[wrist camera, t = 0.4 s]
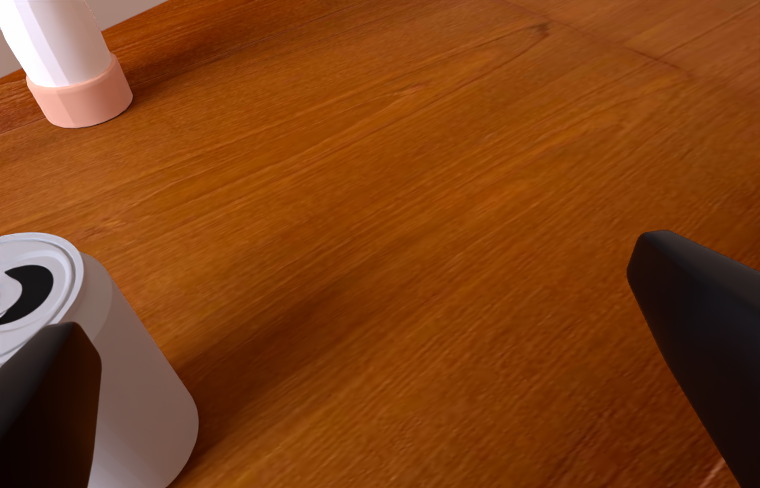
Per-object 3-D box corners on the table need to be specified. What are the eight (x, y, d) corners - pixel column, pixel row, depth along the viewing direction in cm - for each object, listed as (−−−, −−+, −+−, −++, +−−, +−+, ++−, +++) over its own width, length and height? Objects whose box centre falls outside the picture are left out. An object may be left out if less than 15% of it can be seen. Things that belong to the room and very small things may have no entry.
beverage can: (210, 487, 23) (93, 347, 14) (59, 542, 22) (-174, 425, 13) (196, 368, 27) (98, 203, 18) (68, 408, 26) (-104, 251, 17)
